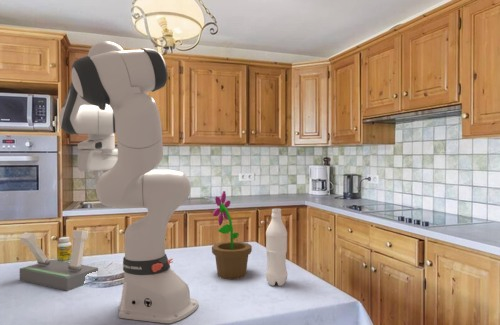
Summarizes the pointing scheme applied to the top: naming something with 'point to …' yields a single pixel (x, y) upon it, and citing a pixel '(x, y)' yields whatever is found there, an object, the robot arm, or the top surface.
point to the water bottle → (276, 250)
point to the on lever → (34, 247)
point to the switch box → (55, 275)
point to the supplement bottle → (64, 249)
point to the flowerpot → (229, 246)
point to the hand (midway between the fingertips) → (102, 183)
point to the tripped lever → (77, 249)
